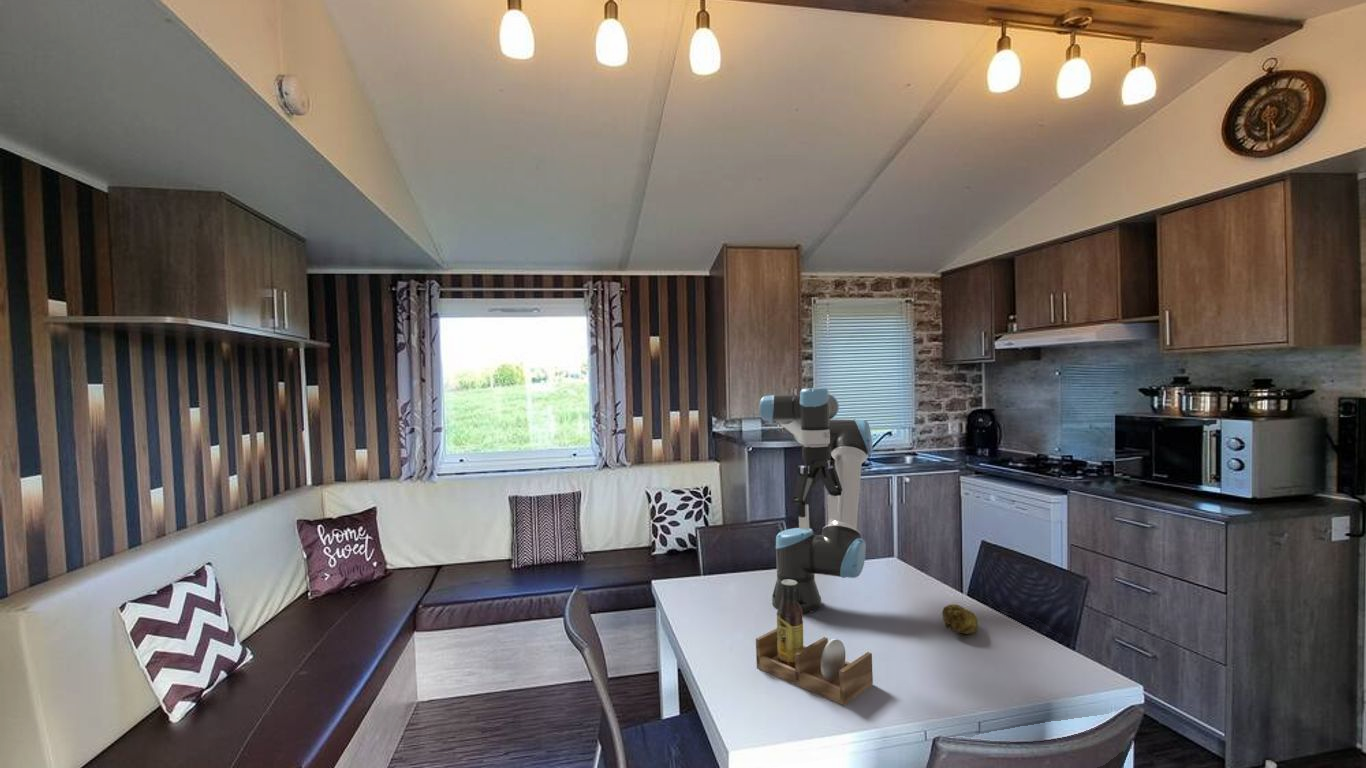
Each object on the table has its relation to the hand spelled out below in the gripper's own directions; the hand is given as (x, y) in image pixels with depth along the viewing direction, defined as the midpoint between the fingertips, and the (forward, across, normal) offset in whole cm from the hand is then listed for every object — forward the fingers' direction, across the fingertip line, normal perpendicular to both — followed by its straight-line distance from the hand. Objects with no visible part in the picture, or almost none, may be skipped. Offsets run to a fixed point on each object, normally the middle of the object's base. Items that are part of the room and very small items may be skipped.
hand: (819, 524), depth 152 cm
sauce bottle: (+30, -19, -3) cm, 35 cm away
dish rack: (+31, -19, -9) cm, 37 cm away
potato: (+32, +29, -25) cm, 49 cm away
